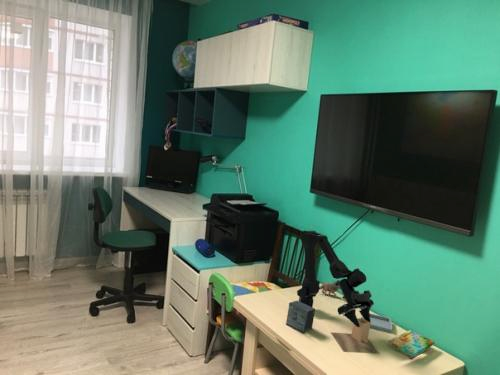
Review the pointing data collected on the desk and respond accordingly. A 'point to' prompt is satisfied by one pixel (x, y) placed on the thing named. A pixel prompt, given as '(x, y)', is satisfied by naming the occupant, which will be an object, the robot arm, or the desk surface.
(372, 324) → the grey tray
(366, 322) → the wooden pen holder
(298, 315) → the small box
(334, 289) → the dinosaur figurine
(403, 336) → the puzzle game
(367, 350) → the walnut stake base
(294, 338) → the desk surface
